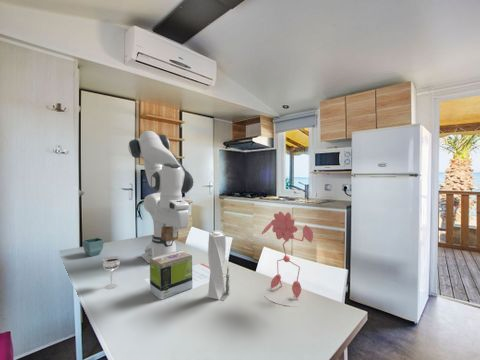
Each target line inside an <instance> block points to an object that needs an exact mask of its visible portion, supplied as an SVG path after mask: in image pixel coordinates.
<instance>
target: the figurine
mask: <svg viewBox="0 0 480 360" xmlns="http://www.w3.org/2000/svg"><path fill="white" fill-rule="evenodd" d="M273 218H274V219H272V220H271V221H270V222H269V223H268V224H267V225H266V226H265V227H264V228H263V230H262V231H261V235H263V234H265V233H266V232H268V231H269V230H270V229H271V228H272V230H271V231H272V233H275V237H276V239H277V240H281V239H283V240H284V242H283V243H282V247H283V248H282V249H283V252H284V255H283V258H281V259H278V260H277V263H276V264H277V266H276V267H277V271H279V261H280V262H281V261H284V262H285V263H291V264H292V265H294V266H296V267H298V271H297V277H296V280H295V281H294V282H293V284H292V285H291V291H292V294H293V296H294V297H295V299H298V298H299V296H300V295H301V293H302V285H301V283H300V282H299V281H298V280H299V274H300V270H301V269H300V268H301V267H300V266H299V265H298V264H295V262H292V261H291V259H290V256H289V255H287V252H286V248H285V244H286V243H287V242H289V240H295V241H296V240H297V241H299V242H304V239H305V240H306V241H308V242H309V243H312V242H313V240H314V232H313V230H312V228H311V227H310V226H308V225H307V224H305V225H304V226H303V228H302V238H301V239H299V238H297V237H295V235H294V233H296V232H298V230H299V229H298V227H297V226H296V225H295V220H294V218H292V215H291V213H290V212H289V211H288V212H287V213H283V212H282V211H279V212H278V213H274V214H273ZM281 280H282V277H281V274H279V273H277V274H276V275H275V276H274V277H272V279H271V281H270V288H269V289H270V290H271V289H274V288H276V287H277V286H278V285H279V284H280V287H281V286H282V287H283V284H282V281H281ZM263 296H264V298H265V299H267V297H266V296H265V295H263ZM270 302H271V303H272V304H277V305H280V306H282V304H280V303H278V302H274V301H272V300H270ZM283 306H284V307H289V305H285V304H283Z"/></svg>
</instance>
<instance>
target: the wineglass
mask: <svg viewBox="0 0 480 360" xmlns="http://www.w3.org/2000/svg"><path fill="white" fill-rule="evenodd" d="M120 258H121V257H119V256H109V257H108V256H107V257H106V258H103V259H102V261H103V263H102V268H103V269H104V270H105V272H109V274H110V283H109V284H107V285H105V286H104V288H105V289H107V290H111V289H112V290H113V289H115V288H118V285H119V284H117V283H113V273H114V271H116V270H117V269H118V268H119V267H120V265H121V261H120Z"/></svg>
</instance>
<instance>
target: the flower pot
mask: <svg viewBox="0 0 480 360" xmlns="http://www.w3.org/2000/svg"><path fill="white" fill-rule="evenodd" d="M104 245H105V240H104V239H103V238H99V237H95V238H89V239H88V238H87V239H83V240H82V247H83V250H84V253H85V254H86V255H87V256H89V257H94V256H98V255H100V254H101V252H102V251H103V249H104Z"/></svg>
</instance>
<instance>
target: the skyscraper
mask: <svg viewBox="0 0 480 360" xmlns="http://www.w3.org/2000/svg"><path fill="white" fill-rule="evenodd" d="M226 242H227V240H226V233H224V232H223V231H222V230H212V231H210V232H208V242H207V243H208V248H207V256H208V258H207V259H208V267H209V271H210V272H209V281H208V291H207V292H208V293H207V299H213V300H218V301H220V302H221V301H222V302H224V301H225V300H226V299H227V297H228V296H230V294H231V292H230V288H231V285H230V273H229V272H230V268H229V267H227V268H226V274H225V277H224V270H223V268H224V263H225V261H226V251H227V248H226V247H227V243H226ZM224 278H226V280H225V279H224Z"/></svg>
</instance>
